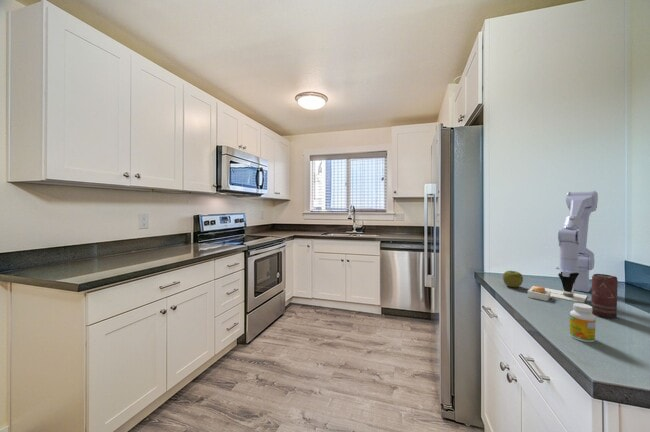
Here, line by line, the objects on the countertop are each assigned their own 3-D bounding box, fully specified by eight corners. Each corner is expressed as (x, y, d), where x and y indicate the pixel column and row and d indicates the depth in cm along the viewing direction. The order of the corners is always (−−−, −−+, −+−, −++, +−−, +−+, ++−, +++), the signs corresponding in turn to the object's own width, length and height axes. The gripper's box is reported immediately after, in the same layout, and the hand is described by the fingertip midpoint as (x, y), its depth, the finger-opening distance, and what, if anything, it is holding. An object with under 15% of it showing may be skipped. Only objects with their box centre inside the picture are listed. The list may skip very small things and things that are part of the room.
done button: (534, 291, 113) (534, 285, 112) (545, 293, 110) (545, 287, 110) (532, 293, 110) (532, 287, 110) (543, 295, 108) (543, 289, 107)
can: (622, 319, 88) (624, 278, 88) (600, 318, 89) (601, 277, 89) (607, 312, 94) (608, 273, 93) (586, 311, 95) (587, 273, 95)
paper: (533, 286, 124) (533, 285, 124) (587, 296, 110) (587, 295, 110) (526, 291, 117) (526, 291, 117) (583, 303, 103) (583, 302, 103)
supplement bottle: (564, 334, 80) (565, 302, 79) (580, 332, 80) (581, 301, 80) (583, 343, 74) (584, 309, 74) (600, 342, 75) (601, 308, 74)
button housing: (531, 293, 115) (531, 287, 115) (550, 297, 110) (550, 291, 110) (527, 297, 111) (527, 291, 110) (547, 301, 106) (547, 294, 106)
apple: (507, 289, 121) (507, 273, 121) (499, 283, 129) (499, 269, 128) (526, 289, 119) (526, 274, 119) (517, 284, 127) (517, 269, 127)
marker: (563, 293, 112) (563, 275, 112) (574, 295, 110) (574, 276, 109) (562, 295, 110) (562, 276, 110) (573, 297, 108) (573, 278, 107)
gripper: (559, 254, 117) (558, 284, 118) (552, 259, 108) (552, 292, 108) (581, 256, 112) (580, 288, 112) (576, 262, 102) (575, 296, 103)
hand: (568, 290), depth 110 cm, fingers closed on marker, 3 cm apart
